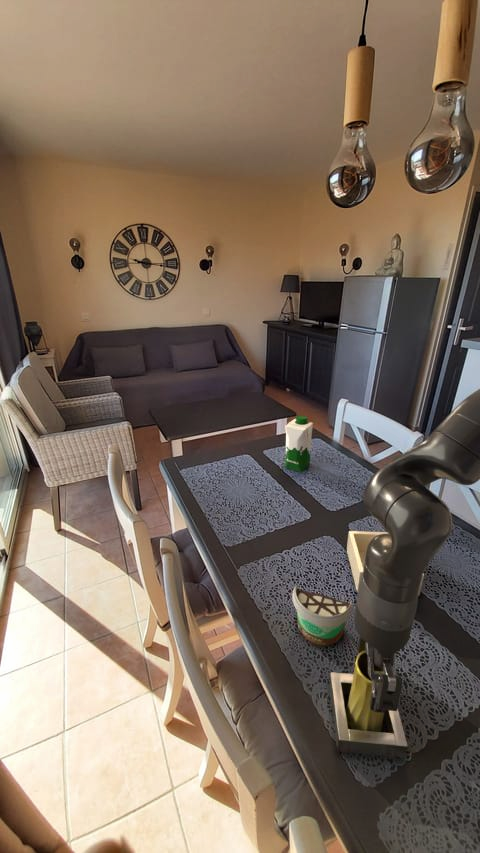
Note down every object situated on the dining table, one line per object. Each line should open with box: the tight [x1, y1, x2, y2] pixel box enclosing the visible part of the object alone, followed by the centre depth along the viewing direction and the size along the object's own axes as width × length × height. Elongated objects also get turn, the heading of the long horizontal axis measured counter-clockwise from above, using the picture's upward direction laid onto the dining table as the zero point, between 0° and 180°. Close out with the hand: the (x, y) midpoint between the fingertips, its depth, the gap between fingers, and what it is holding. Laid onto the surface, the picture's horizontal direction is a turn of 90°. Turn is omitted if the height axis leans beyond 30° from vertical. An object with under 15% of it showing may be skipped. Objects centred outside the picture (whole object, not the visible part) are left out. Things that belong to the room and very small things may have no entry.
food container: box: [291, 585, 355, 647], centre depth 73 cm, size 12×6×10 cm, turn 68°
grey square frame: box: [328, 671, 409, 759], centre depth 61 cm, size 10×10×4 cm
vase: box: [345, 651, 385, 732], centre depth 58 cm, size 6×6×14 cm
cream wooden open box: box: [346, 530, 425, 597], centre depth 89 cm, size 14×14×7 cm
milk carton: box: [284, 414, 314, 473], centre depth 134 cm, size 9×9×20 cm
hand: (370, 678), depth 57 cm, fingers open, 8 cm apart
